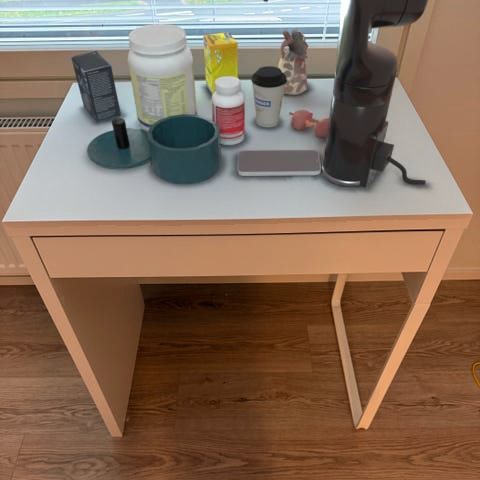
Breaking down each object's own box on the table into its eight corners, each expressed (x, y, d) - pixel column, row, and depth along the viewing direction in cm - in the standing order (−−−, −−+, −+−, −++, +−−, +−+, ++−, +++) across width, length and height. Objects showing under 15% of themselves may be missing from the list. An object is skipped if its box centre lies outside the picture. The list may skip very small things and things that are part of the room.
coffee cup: (271, 110, 104) (273, 60, 97) (291, 124, 100) (295, 73, 93) (244, 119, 102) (244, 69, 94) (263, 133, 98) (264, 82, 90)
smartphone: (238, 150, 93) (317, 149, 92) (238, 154, 93) (317, 153, 93) (237, 172, 88) (321, 171, 87) (237, 176, 89) (321, 176, 88)
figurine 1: (308, 94, 109) (314, 35, 100) (277, 95, 109) (280, 36, 100) (304, 80, 114) (310, 23, 105) (274, 81, 114) (276, 23, 105)
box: (83, 108, 106) (70, 56, 98) (108, 101, 108) (97, 50, 100) (96, 123, 102) (83, 70, 93) (122, 116, 103) (111, 64, 95)
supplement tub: (155, 105, 107) (142, 18, 94) (207, 114, 104) (201, 25, 91) (127, 132, 99) (110, 41, 86) (182, 143, 96) (173, 51, 83)
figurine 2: (296, 120, 104) (279, 127, 99) (299, 103, 101) (281, 110, 97) (347, 136, 99) (332, 145, 94) (351, 119, 97) (336, 127, 92)
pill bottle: (250, 140, 97) (251, 83, 88) (224, 149, 95) (222, 92, 86) (233, 127, 100) (232, 71, 92) (207, 135, 98) (204, 79, 90)
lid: (173, 144, 96) (170, 113, 91) (130, 178, 88) (124, 147, 84) (119, 127, 101) (113, 97, 96) (73, 158, 93) (64, 128, 88)
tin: (233, 157, 93) (232, 124, 88) (196, 191, 86) (193, 158, 81) (178, 140, 97) (174, 108, 92) (138, 171, 90) (132, 138, 85)
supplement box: (205, 87, 112) (202, 34, 104) (230, 83, 113) (229, 31, 105) (212, 98, 108) (209, 45, 100) (238, 94, 110) (238, 41, 101)
